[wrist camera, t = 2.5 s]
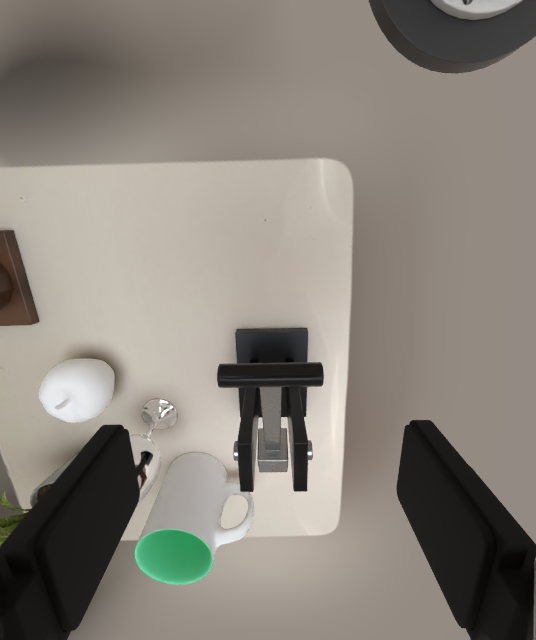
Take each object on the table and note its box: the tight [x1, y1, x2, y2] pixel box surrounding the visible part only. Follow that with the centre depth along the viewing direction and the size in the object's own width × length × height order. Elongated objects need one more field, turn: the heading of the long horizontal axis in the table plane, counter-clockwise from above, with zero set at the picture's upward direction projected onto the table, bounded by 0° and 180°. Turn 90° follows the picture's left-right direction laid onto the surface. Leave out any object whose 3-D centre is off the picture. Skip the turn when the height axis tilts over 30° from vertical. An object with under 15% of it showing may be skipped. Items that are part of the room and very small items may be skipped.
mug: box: [135, 452, 254, 585], centre depth 35 cm, size 12×8×10 cm
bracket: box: [233, 328, 313, 492], centre depth 29 cm, size 11×8×15 cm
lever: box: [217, 362, 324, 472], centre depth 19 cm, size 13×5×2 cm, turn 2°
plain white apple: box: [39, 358, 115, 423], centre depth 32 cm, size 7×7×8 cm
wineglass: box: [129, 399, 177, 507], centre depth 32 cm, size 6×6×12 cm
